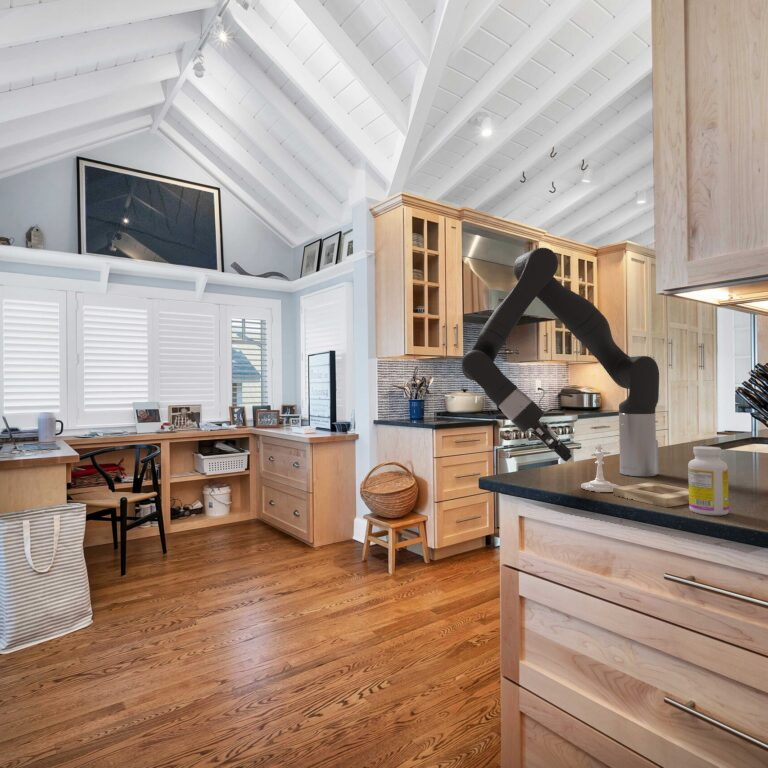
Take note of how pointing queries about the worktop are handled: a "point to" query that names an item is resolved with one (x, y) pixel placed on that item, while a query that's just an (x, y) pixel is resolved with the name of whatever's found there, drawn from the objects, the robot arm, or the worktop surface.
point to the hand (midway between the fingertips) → (568, 456)
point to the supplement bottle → (708, 482)
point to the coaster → (598, 489)
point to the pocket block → (654, 494)
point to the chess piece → (599, 471)
